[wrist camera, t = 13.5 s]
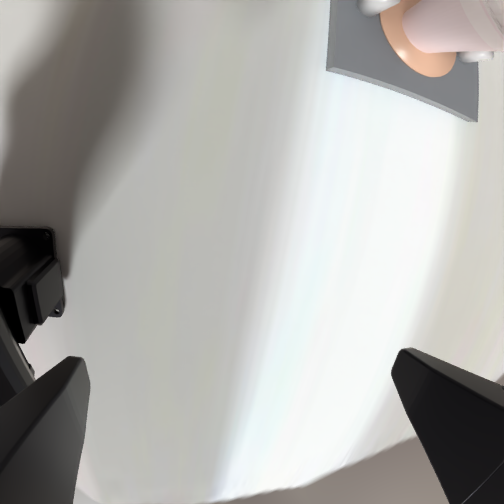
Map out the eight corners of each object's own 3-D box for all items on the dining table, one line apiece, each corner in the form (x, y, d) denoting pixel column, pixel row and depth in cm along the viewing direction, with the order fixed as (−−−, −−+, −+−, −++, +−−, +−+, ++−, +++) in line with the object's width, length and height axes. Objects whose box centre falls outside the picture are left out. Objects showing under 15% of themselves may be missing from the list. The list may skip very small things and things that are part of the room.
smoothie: (456, 76, 17) (610, 74, 4) (394, 63, 17) (578, 32, 4) (441, 6, 15) (577, -27, 2) (378, -14, 14) (524, -86, 1)
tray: (325, 70, 17) (356, 56, 14) (332, -49, 14) (356, -74, 10) (467, 121, 20) (503, 123, 16) (465, 16, 17) (496, 9, 13)
